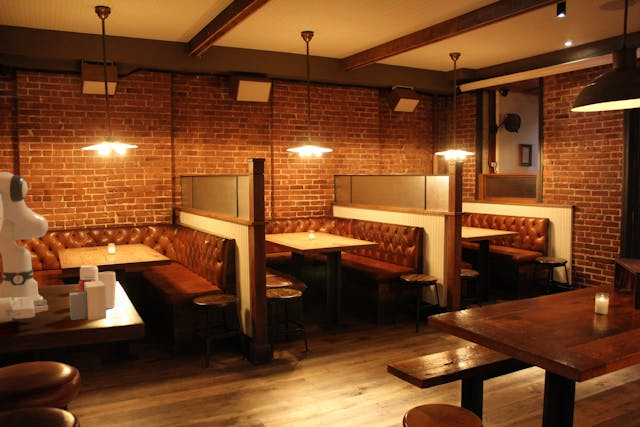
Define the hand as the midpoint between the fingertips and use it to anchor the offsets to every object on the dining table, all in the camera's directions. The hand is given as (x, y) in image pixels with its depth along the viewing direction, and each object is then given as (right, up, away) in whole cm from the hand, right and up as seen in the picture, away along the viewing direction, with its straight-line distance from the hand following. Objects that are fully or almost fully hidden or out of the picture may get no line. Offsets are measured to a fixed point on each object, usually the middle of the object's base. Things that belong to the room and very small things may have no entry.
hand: (47, 304), depth 213 cm
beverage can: (-6, -2, +54) cm, 54 cm away
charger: (+11, -6, +6) cm, 14 cm away
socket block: (+15, -6, +9) cm, 19 cm away
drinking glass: (+15, -5, +21) cm, 27 cm away
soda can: (+5, -5, +25) cm, 26 cm away
